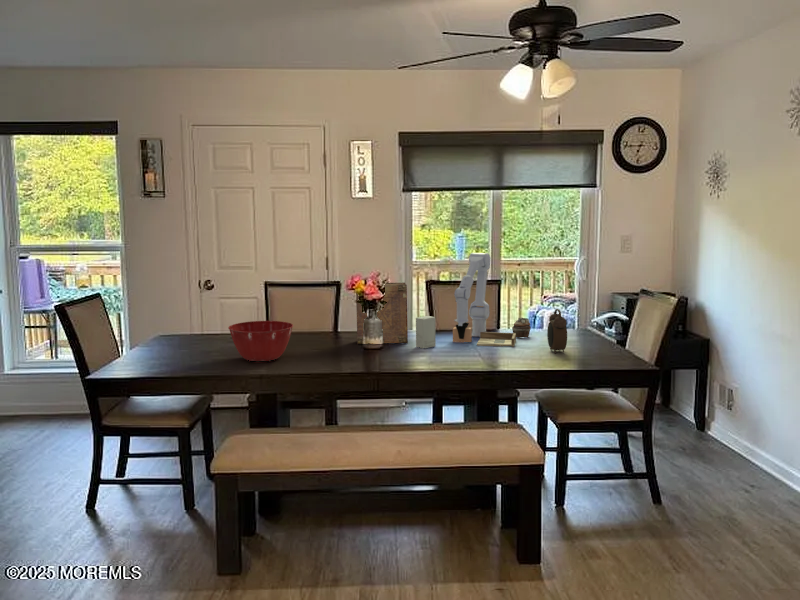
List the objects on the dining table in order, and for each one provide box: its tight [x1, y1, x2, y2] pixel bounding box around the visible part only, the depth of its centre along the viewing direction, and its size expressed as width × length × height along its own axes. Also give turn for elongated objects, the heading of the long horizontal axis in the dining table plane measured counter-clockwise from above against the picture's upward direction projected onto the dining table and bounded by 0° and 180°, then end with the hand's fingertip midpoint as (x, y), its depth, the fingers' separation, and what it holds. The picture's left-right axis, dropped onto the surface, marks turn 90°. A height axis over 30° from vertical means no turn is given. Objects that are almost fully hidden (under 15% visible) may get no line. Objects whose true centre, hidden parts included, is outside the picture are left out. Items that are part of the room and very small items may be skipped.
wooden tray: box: [476, 331, 517, 348], centre depth 322 cm, size 16×18×4 cm
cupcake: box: [511, 317, 532, 338], centre depth 338 cm, size 10×10×10 cm
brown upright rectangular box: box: [355, 282, 409, 345], centre depth 325 cm, size 25×9×30 cm, turn 94°
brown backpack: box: [547, 308, 568, 354], centre depth 298 cm, size 14×7×20 cm, turn 1°
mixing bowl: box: [228, 320, 294, 362], centre depth 290 cm, size 28×28×16 cm
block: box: [452, 326, 473, 343], centre depth 327 cm, size 4×9×7 cm, turn 76°
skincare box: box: [415, 315, 437, 349], centre depth 313 cm, size 8×6×15 cm
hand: (462, 337), depth 327 cm, fingers closed on block, 4 cm apart
